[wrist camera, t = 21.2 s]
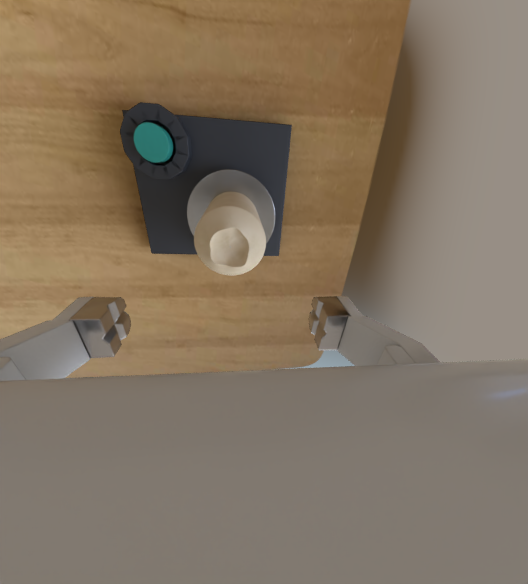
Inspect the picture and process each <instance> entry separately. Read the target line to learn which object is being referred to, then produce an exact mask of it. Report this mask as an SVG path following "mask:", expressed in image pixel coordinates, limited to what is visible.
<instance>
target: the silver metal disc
mask: <svg viewBox="0 0 528 584" xmlns="http://www.w3.org/2000/svg"><path fill="white" fill-rule="evenodd" d="M224 192H238V193H241V194H243V195H245V196H246V197H248V198H249V199H250V200H251V201H252V203H253V204H254V206H255V208H256V210H257V213H258V215H259V218H260V221H261V224H262V226H263V229H264V232H265V236H266V243H267V242H268V241H269V239H270V237H271V235H272V233H273V229H274V226H275V208H274V204H273V201H272V198H271V196H270V194H269V192H268V191H267V189H266V188H265V187H264V186H263V185H262V183H261V182H260V181H258V180H257V179H256V178H255V177H253V176H251V175H250V174H247V173H245V172H242V171H239V170H233V169H225V170H219V171H216V172H213V173H211V174H209V175H207V176H206V177H204V178H203V179H202V180H201V181H200V182H199V183H198V184H197V185H196V186H195V188H194V189H193V191H192V193H191V195H190V198H189V201H188V205H187V219H188V224H189V227H190V230H191V232H192V234H193V236H194V234H195V229H196V227H197V224H198V222H199V221H200V219H201V217H202V216H203V214H204V212H205V211H206V209H207V208H208V206H209V204H210V203H211V201H212V200H213V199H214V198H215V197H216V196H218V195H219V194H222V193H224Z"/></svg>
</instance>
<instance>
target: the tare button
mask: <svg viewBox="0 0 528 584" xmlns="http://www.w3.org/2000/svg"><path fill="white" fill-rule="evenodd" d="M134 144H135V147H136V149H137V151H138V152H139V154H140V155H141V156H142V157H143V158H145V159H146V160H148V161H150V162H154V163H158V162H165V161H167V160H168V159H169V158H170V157H171V155H172V153H173V142H172V139H171V137H170V135H169V134H168V132H167V131H166V130H165V129H164V128H162V127H161V126H158V125H156V124H154V123H150V122H144V123H141V124H140V125H138V126H137V127H136V129H135V131H134Z"/></svg>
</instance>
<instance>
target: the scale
mask: <svg viewBox="0 0 528 584" xmlns="http://www.w3.org/2000/svg"><path fill="white" fill-rule="evenodd" d="M122 111H123V116H124V119H123V122H122V126H121V129H120V134H121V138H122V143H123V147H124V151H125V153H126V154H127V156H128V157H129V159H130V160H131V161H132V163H133V165H134V170H135V175H136V180H137V184H138V189H139V194H140V199H141V204H142V209H143V214H144V218H145V223H146V228H147V233H148V238H149V243H150V248H151V253H154V254H197V252H196V249H195V245H194V236H193V234H192V232H191V230H190V227H189V224H188V219H187V205H188V201H189V198H190V195H191V193H192V191H193V189H194V188H195V186H196V185H197V184H198V183H199V182H200V181H201V180H202V179H203V178H204V177H206V176H207V175H209V174H211V173H213V172H216V171H219V170H225V169H233V170H239V171H242V172H245V173H247V174H250V175H251V176H253V177H255V178H256V179H257V180H258V181H260V182H261V183H262V185H263V186H264V187H265V188H266V189H267V191H268V192H269V194H270V196H271V198H272V201H273V204H274V208H275V226H274V229H273V233H272V235H271V237H270V239H269V241H268V242H267V243H266V248H265V252H264V255H263V256H279V249H280V238H281V228H282V218H283V208H284V198H285V188H286V178H287V168H288V157H289V147H290V137H291V127H292V125H286V124H275V123H263V122H252V121H241V120H230V119H218V118H207V117H196V116H185V115H174V114H172V113H171V112H169V111H168V110H167V109H165V108H164V107H162V106H161V105H159V104H152V103H142V102H140V103H138V104H137V105H136V106H134V107H133V108H131V109H130V110H122ZM144 122H150V123H154V124H156V125H158V126H161V127H162V128H164V129H165V130H166V131H167V132H168V134H169V135H170V137H171V139H172V142H173V153H172V155H171V157H170V158H169V159H168V160H167V161H165V162H158V163H154V162H150V161H148V160H146V159H145V158H143V157H142V156H141V155H140V154H139V152H138V151H137V149H136V147H135V144H134V131H135V129H136V127H137V126H138V125H140V124H141V123H144Z"/></svg>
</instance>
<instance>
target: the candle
mask: <svg viewBox="0 0 528 584" xmlns="http://www.w3.org/2000/svg"><path fill="white" fill-rule="evenodd" d="M194 245H195V249H196V252H197V254H198V256H199V258H200V259H201V261H202V262H203V263H204V264H205V265H206V266H207V267H208V268H210V269H211V270H213V271H215V272H217V273H220V274H224V275H239V274H243V273H246V272H248V271H250V270H251V269H253V268H254V267H255V266H256V265H257V264H258V263H259V262H260V260H261V259H262V257H263V255H264V252H265V248H266V236H265V232H264V229H263V226H262V224H261V221H260V218H259V215H258V213H257V210H256V208H255V206H254V204H253V203H252V201H251V200H250V199H249V198H248V197H246V196H245V195H243V194H241V193H238V192H224V193H222V194H219V195H218V196H216V197H215V198H214V199H213V200H212V201H211V203H210V204H209V206H208V208H207V209H206V211H205V212H204V214H203V216H202V217H201V219H200V221H199V222H198V224H197V227H196V229H195V234H194Z"/></svg>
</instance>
